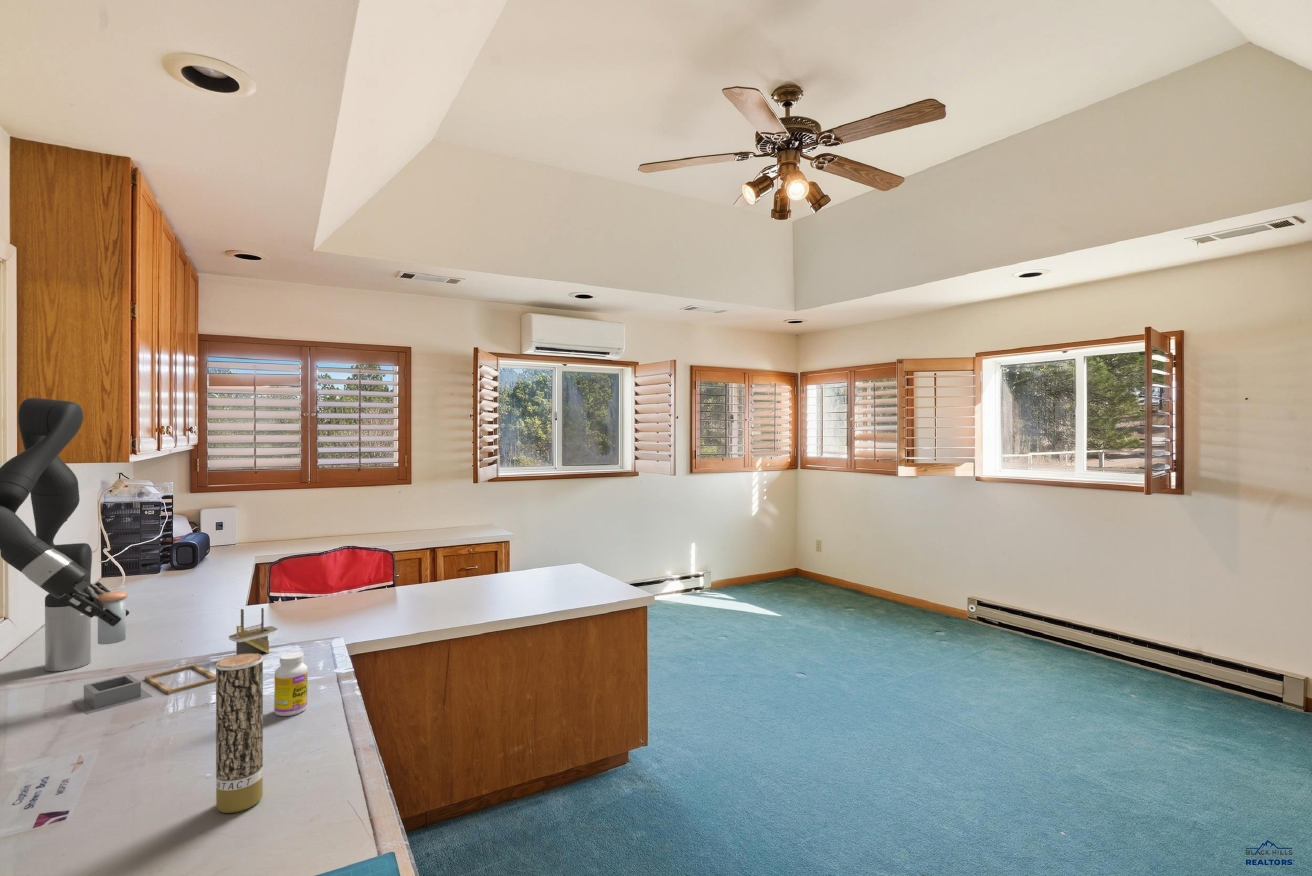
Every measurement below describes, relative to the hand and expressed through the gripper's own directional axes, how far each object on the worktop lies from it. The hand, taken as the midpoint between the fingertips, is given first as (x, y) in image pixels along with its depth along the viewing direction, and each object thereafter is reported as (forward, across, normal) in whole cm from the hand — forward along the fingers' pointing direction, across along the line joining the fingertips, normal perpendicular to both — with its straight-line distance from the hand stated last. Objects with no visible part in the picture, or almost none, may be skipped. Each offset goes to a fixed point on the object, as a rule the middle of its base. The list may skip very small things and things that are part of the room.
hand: (121, 619), depth 151 cm
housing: (+13, 0, +15) cm, 20 cm away
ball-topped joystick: (+2, 0, +5) cm, 5 cm away
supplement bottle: (+40, -21, -12) cm, 47 cm away
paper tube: (+37, -59, -9) cm, 70 cm away
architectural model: (+31, +25, -2) cm, 40 cm away
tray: (+21, +7, +7) cm, 24 cm away
